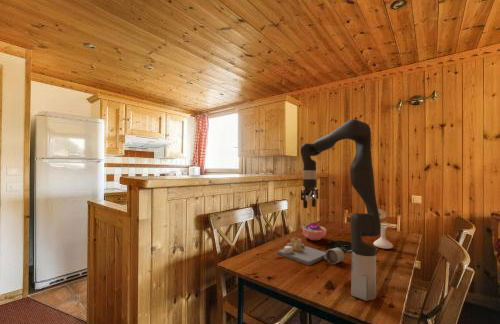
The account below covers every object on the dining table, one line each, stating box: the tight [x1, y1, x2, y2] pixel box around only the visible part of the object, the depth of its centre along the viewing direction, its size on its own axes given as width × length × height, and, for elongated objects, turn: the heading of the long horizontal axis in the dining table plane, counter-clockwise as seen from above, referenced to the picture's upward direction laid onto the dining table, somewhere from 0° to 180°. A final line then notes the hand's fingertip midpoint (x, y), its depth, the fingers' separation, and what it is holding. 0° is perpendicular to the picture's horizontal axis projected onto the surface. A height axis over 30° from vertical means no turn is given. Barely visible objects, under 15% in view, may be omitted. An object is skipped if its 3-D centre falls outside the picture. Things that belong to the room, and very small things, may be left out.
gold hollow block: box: [290, 237, 302, 252], centre depth 148 cm, size 7×7×6 cm
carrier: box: [277, 242, 327, 266], centre depth 144 cm, size 20×22×6 cm
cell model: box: [302, 222, 327, 241], centre depth 177 cm, size 17×20×11 cm
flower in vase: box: [372, 208, 394, 250], centre depth 162 cm, size 13×11×25 cm
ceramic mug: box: [323, 247, 345, 265], centre depth 136 cm, size 11×8×8 cm
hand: (309, 207), depth 137 cm, fingers open, 8 cm apart
